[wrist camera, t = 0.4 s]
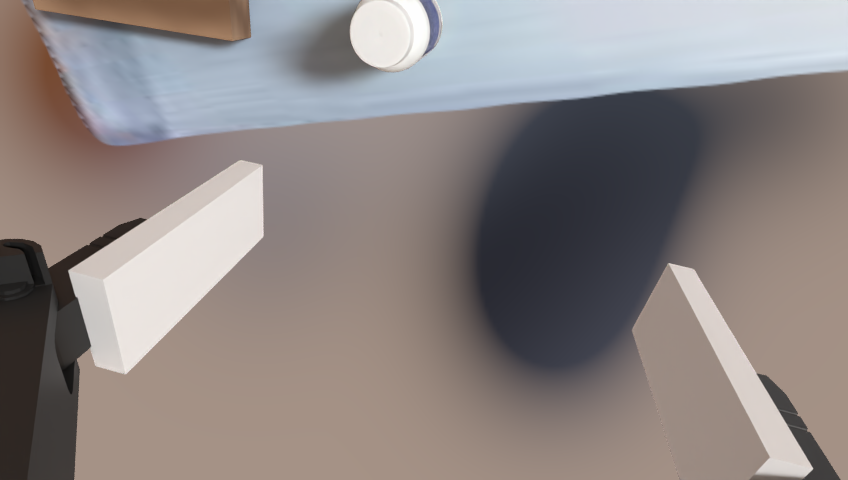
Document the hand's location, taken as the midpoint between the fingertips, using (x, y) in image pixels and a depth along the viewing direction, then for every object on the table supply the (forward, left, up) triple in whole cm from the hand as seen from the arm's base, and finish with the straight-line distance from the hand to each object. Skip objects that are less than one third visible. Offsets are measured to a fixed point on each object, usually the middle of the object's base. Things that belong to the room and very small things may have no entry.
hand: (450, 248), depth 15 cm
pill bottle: (-4, -8, -28) cm, 29 cm away
